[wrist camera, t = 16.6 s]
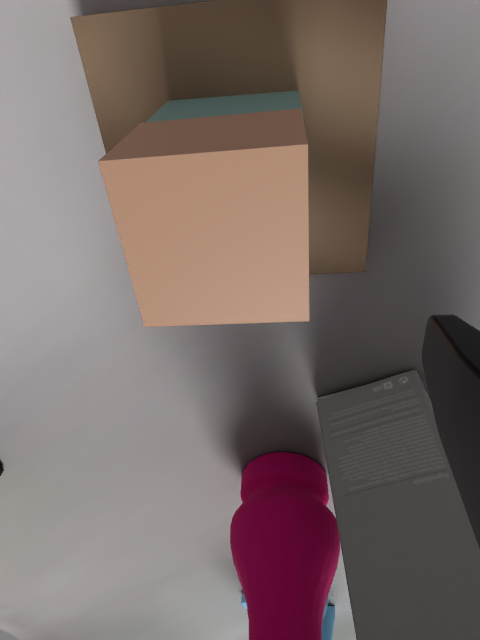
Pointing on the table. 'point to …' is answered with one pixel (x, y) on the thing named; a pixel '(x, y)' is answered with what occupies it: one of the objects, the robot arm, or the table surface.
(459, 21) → the table surface
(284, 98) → the teal brick
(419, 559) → the skincare box
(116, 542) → the table surface
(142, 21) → the walnut board
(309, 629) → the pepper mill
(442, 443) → the robot arm
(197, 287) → the tan brick
